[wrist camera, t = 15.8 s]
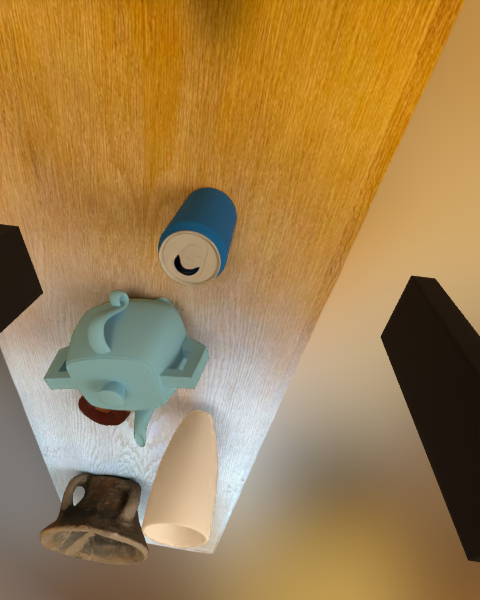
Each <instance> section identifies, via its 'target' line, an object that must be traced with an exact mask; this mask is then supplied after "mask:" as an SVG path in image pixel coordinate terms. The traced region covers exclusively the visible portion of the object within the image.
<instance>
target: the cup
mask: <svg viewBox="0 0 480 600" xmlns="http://www.w3.org/2000/svg"><path fill="white" fill-rule="evenodd" d="M217 479H218V455H217V442H216V436H215V430H214V425H213V421H212V418H211V416H210V414H208V413H207V412H205V411H201V410H194V411H191V412H189V413H188V415H187V416H186V417H185V418H184V419H183V421H182V422H181V424H180V425H179V427H178V428H177V430H176V431H175V433H174V435H173V437H172V439H171V441H170V443H169V445H168V447H167V449H166V451H165V453H164V455H163V457H162V460H161V462H160V465H159V468H158V471H157V474H156V477H155V480H154V483H153V486H152V489H151V493H150V496H149V500H148V504H147V508H146V512H145V516H144V520H143V524H142V528H141V529H142V532H143V533H144V535H145V536H146V537H148V538H150V539H151V540H153V541H156V542H159V543H162V544H166V545H170V546H176V547H197V546H201V545H204V544H205V543H206V542H207V541H208V540H209V538H210V532H211V526H212V519H213V513H214V507H215V501H216V490H217Z"/></svg>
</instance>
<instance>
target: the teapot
mask: <svg viewBox="0 0 480 600" xmlns="http://www.w3.org/2000/svg"><path fill="white" fill-rule="evenodd" d="M109 301H110V302H108V303H104V304H101V305H99V306H96V307H94V308H92V309H90V310H88V311H87V312H86V313H85V314H84V315H83V317H82V318H81V319H80V321H79V323H78V324H77V326H76V328H75V330H74V333H73V335H72V338H71V342H70V345H69V346H68V347H65V348H62V349H60V350H59V351H58V353H57V355H56V356H55V358H54V360H53V362H52V364H51V366H50V368H49V369H48V371H47V373H46V375H45V377H44V380H45V382H46V383H47V385H48V386H49V387H50V389H51V390H53V389H79V391H80V392H81V394H82V395H83V396H84V397H85V399H86V400H87V401H88V402H89V403H90V404H91V405H93V406H95V407H99V408H104V409H112V410H135V421H134V438H135V441H136V443H137V444H138V445H139V446H140V447H144V446H145V443H146V430H147V426H148V423H149V420H150V418H151V415H152V413H153V411H154V409H155V408H157V407H160V406H163V405H164V404H165V403H166V402H167V401H168V400H169V398H170V397H171V396H172V395H173V394H174V392H175V391H176V390H177V388H188V389H195V387H196V385H197V383H198V381H199V379H200V377H201V374H202V372H203V370H204V368H205V366H206V363H207V361H208V359H209V355H208V350H207V346H205V345H203V344H201V343H200V342H198V341H196V340H194V339H192V338H190V337H189V336H188V335H187V332H186V329H185V326H184V323H183V321H182V318H181V316H180V314H179V312H178V310H177V309H176V307H175V306H173V305H172V304H171V302H170V301H169V300H168V299H166V298H162V297H159V298H156V299H155V300H151V299H137V298H136V299H129V298H128V296H127V294H126V293H125V292H123V291H121V290H115V291H113V292H111V293H110V295H109Z"/></svg>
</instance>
